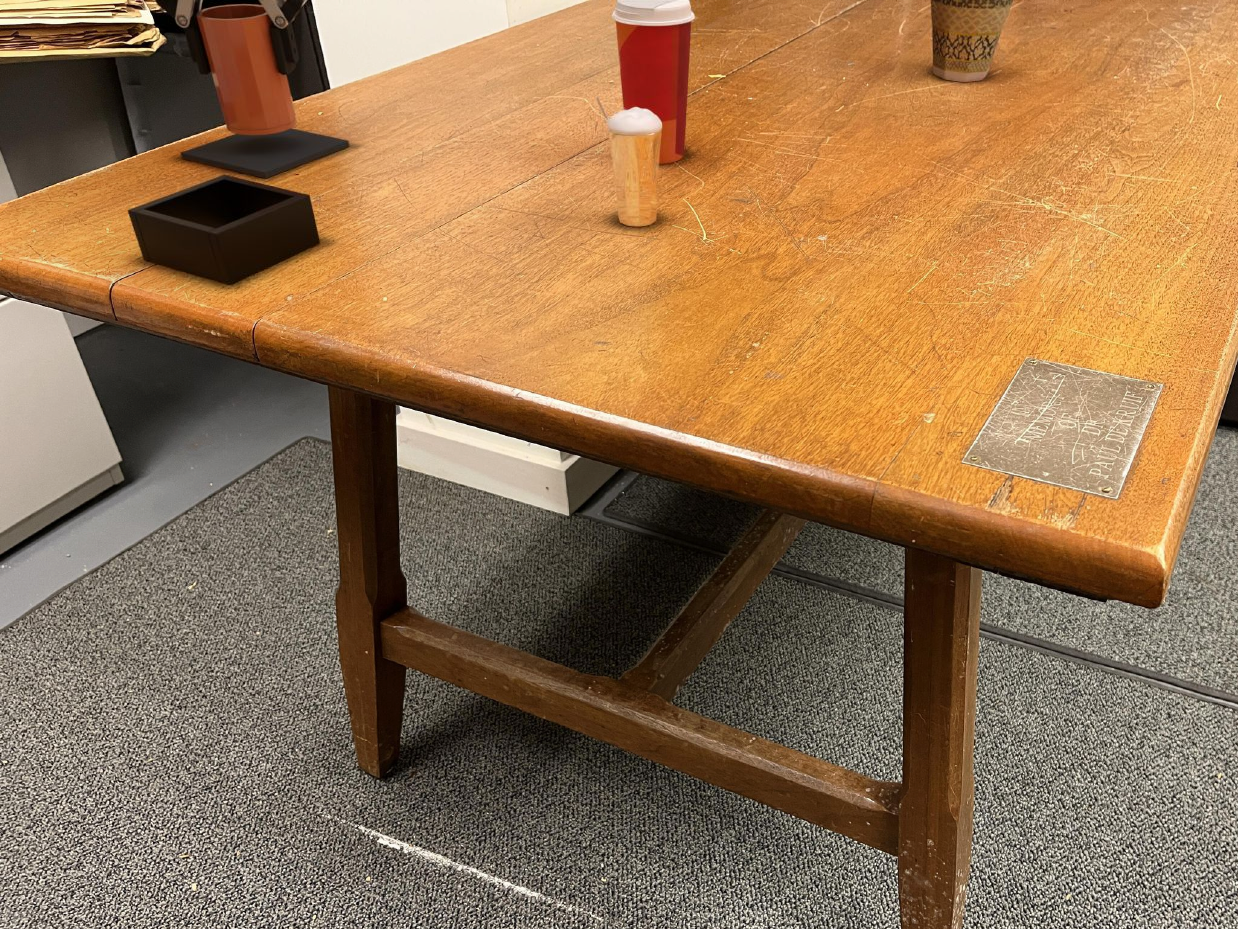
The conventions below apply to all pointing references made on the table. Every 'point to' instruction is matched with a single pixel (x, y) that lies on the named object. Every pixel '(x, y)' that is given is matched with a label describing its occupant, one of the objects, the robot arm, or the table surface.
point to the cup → (246, 69)
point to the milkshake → (635, 163)
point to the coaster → (265, 151)
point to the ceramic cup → (966, 36)
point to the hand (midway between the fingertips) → (248, 69)
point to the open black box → (225, 228)
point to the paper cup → (656, 64)
